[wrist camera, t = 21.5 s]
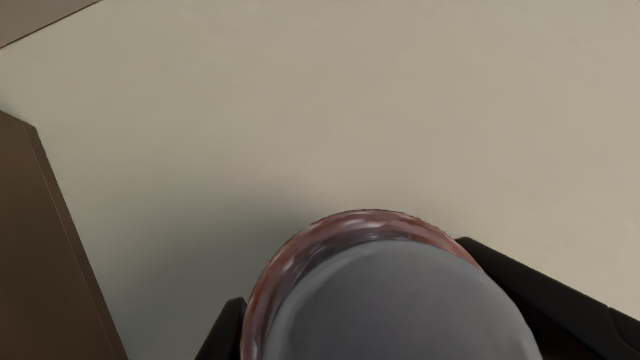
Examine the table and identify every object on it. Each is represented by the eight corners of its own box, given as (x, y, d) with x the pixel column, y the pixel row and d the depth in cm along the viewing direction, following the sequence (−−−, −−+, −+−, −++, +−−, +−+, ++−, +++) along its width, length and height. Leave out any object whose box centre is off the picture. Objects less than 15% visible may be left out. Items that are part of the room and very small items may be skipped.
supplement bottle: (415, 245, 16) (620, 196, 5) (410, 383, 14) (687, 749, 3) (292, 231, 16) (228, 155, 5) (274, 366, 15) (132, 658, 4)
